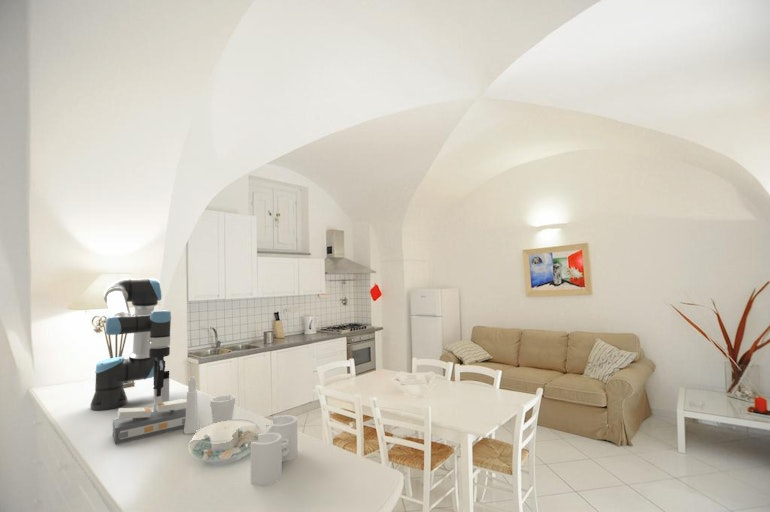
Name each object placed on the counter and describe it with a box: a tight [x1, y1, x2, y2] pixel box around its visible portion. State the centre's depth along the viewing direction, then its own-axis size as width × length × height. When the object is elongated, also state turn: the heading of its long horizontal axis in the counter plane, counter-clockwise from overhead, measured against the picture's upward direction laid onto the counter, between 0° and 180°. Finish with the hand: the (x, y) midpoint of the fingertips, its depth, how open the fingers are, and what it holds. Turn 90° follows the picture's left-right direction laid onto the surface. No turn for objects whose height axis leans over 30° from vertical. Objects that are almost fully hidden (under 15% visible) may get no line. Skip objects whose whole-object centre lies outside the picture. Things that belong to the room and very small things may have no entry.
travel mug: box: [152, 370, 170, 412], centre depth 178 cm, size 6×7×20 cm
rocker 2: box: [156, 398, 187, 412], centre depth 163 cm, size 6×11×3 cm, turn 129°
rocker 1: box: [116, 406, 153, 419], centre depth 155 cm, size 6×11×3 cm, turn 129°
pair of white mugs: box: [250, 414, 299, 486], centre depth 127 cm, size 25×10×12 cm, turn 177°
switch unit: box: [112, 408, 186, 445], centre depth 158 cm, size 12×27×7 cm, turn 129°
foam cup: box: [209, 394, 236, 424], centre depth 157 cm, size 10×9×13 cm
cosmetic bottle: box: [183, 376, 200, 435], centre depth 157 cm, size 6×6×22 cm
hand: (157, 403), depth 160 cm, fingers closed
